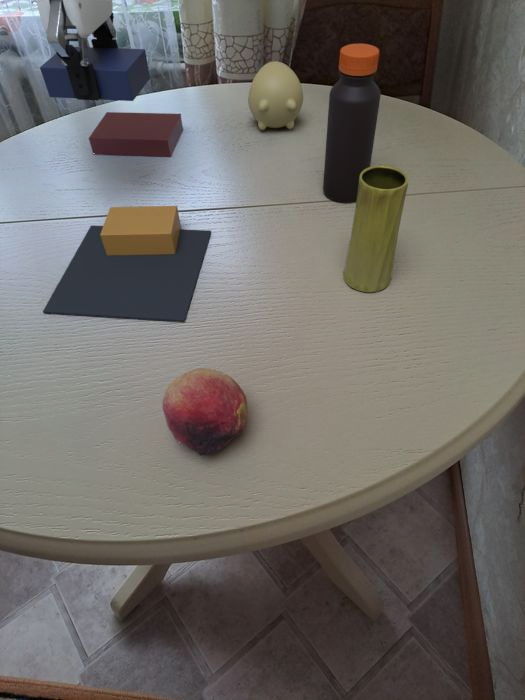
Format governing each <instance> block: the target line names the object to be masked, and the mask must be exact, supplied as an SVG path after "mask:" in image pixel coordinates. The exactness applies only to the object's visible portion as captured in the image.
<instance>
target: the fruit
mask: <svg viewBox="0 0 525 700" xmlns="http://www.w3.org/2000/svg"><path fill="white" fill-rule="evenodd" d="M161 408H162V411H163V414H164V418H165V422H166V425H167V429H168V430H169V431H170V433H171V435H172V437H173V438H174V440H175V442H176V443H177V444H178V445H185V446H186V447H188V448H189V449H191V450H192V451H195V453H197V454H198V455H199V456H207V455H212V454H214V453H217V452H219V451H221V450H222V449H224V448H225V447H226V446H227V445H228V444H229V443H230V442H231V441H232V440H234V439H235V438H237V437H238V436H240V435H241V434H242V433H243V431H244V430H245V427H246V421H247V417H248V403H247V396H246V394H245V392H244V390H243V389H242V387H241V386H240V385H239V383H237V381H236V380H235V379H234V378H233V377H232V376H230V375H228V374H226V373H224V372H222V371H219V370H216V369H214V368H213V369H212V368H204V367H200V368H195V369H191V370H190V371H187V372H184V373H182V374H181V375H179V376H178V377H176V378H175V379H174V380H173V381H171V383H170V384H169V385H168V386H167V388H166V390H165V391H164V396H163V399H162V407H161Z"/></svg>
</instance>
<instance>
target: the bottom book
mask: <svg viewBox="0 0 525 700" xmlns="http://www.w3.org/2000/svg"><path fill="white" fill-rule="evenodd" d="M183 131H184V127H183V121H182V115H181V113H165V112H164V113H162V112H161V113H160V112H159V113H157V112H120V111H119V112H117V111H116V112H115V111H114V112H113V111H107V112H106V113H105V114H104V115H103V117H102V118H101V119H100V120H99V122H98V124H97V125H96V127H95V128H94V129H93V131H92V132H91V134H90V135H89V137H88V141H89V145H90V147H91V150H92V154H93V153H95V154H113V155H112V156H126V157H127V156H131V157H132V156H133V157H160V158H161V157H165V158H171V157H172V155H173V153H174V151H175V149H176V146H177V144H178V142H179V140H180V138H181V135H182V133H183ZM95 154H94V155H95Z"/></svg>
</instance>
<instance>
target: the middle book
mask: <svg viewBox="0 0 525 700" xmlns="http://www.w3.org/2000/svg"><path fill="white" fill-rule="evenodd" d="M73 47H74V48H75V49H76V50H77V51H78V52H79V47H78V46H73ZM146 53H147V52H146V49H145V48H123V47H122V48H119V47H118V48H94V47H93V46H92V47H91V46H88V61H89V63H90V64H93V67H94V71H95V75H96V79H97V82H98V86H99V90H100V94H101V98H100V99H99V100H98V101H101V100H102V101H123V102H124V101H125V102H133V101H135V99H136V98H137V97H138V95H139V94H140V92H141V91H142V90H143V89H144V87H145V86H146V85H147V83H148V82H149V81H150V80H151V75H150V69H149V63H148V57H147V54H146ZM39 69H40V72H41V75H42V78H43V81H44V85H45V87H46V91H47V93H48V96H49V98H56V99H57V98H59V99H76V98H75V95H74V92H73V89H72V85H71V82H70V79H69V75H68V72H67V69H66V66H64V65H63V64H62V60H61V58H60V57H59V56H58V55H57V53H56V52H55V53H54V54H53V55H52V56H51V57H50V58H48V60H47V61H45V62H44V63H43V64H42V65H40V66H39Z"/></svg>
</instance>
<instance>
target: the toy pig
mask: <svg viewBox="0 0 525 700" xmlns="http://www.w3.org/2000/svg"><path fill="white" fill-rule="evenodd" d="M249 87H250V88H249V91H248V97H247V103H248V108H249V111H250V112H251V115H252V116H253V117H254V120H256V121H257V126H258V129H259V130H261V131H264V130H266V128H269V129H270V128H271V129H280V128H283V127H286V128H287V129H289V130H292V129H293V128H294V127H295V119H296V118H297V117H298V115H299V114H300V112H301V110H302V107H303V104H304V91H303V87H302V84H301V82H300V79H299V78H298V75H297V74H296V73H295V72H294V70H293V69H292V68H290V66H289V65H287V64H285V62H281V61H269V62H267V63H266V64H264V65H263V66H262V67H261V68H260V69H259V70H258V71H257V72H256V74H255V76H254V78H253V80H252V82H251V84H250V86H249Z"/></svg>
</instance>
